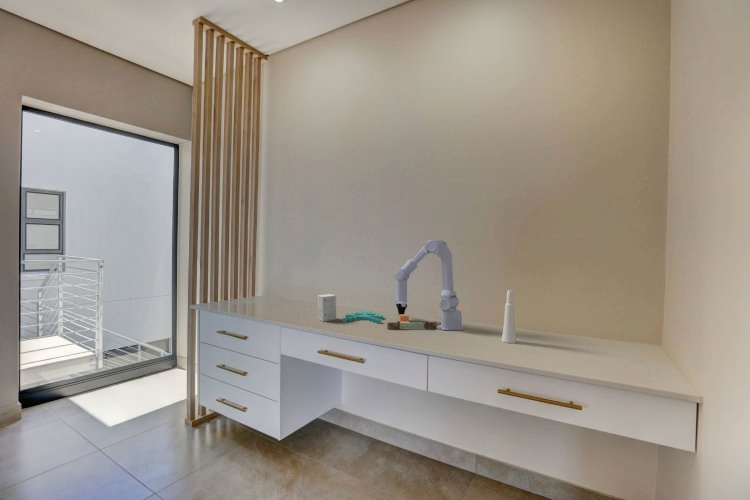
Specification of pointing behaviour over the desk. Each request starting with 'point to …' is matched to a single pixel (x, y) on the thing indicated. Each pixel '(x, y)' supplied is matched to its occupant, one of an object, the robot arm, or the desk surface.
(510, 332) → the cosmetic bottle
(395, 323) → the frame
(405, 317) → the doorstop wedge
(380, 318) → the alien figure
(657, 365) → the desk surface
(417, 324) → the grey rod
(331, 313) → the small box
